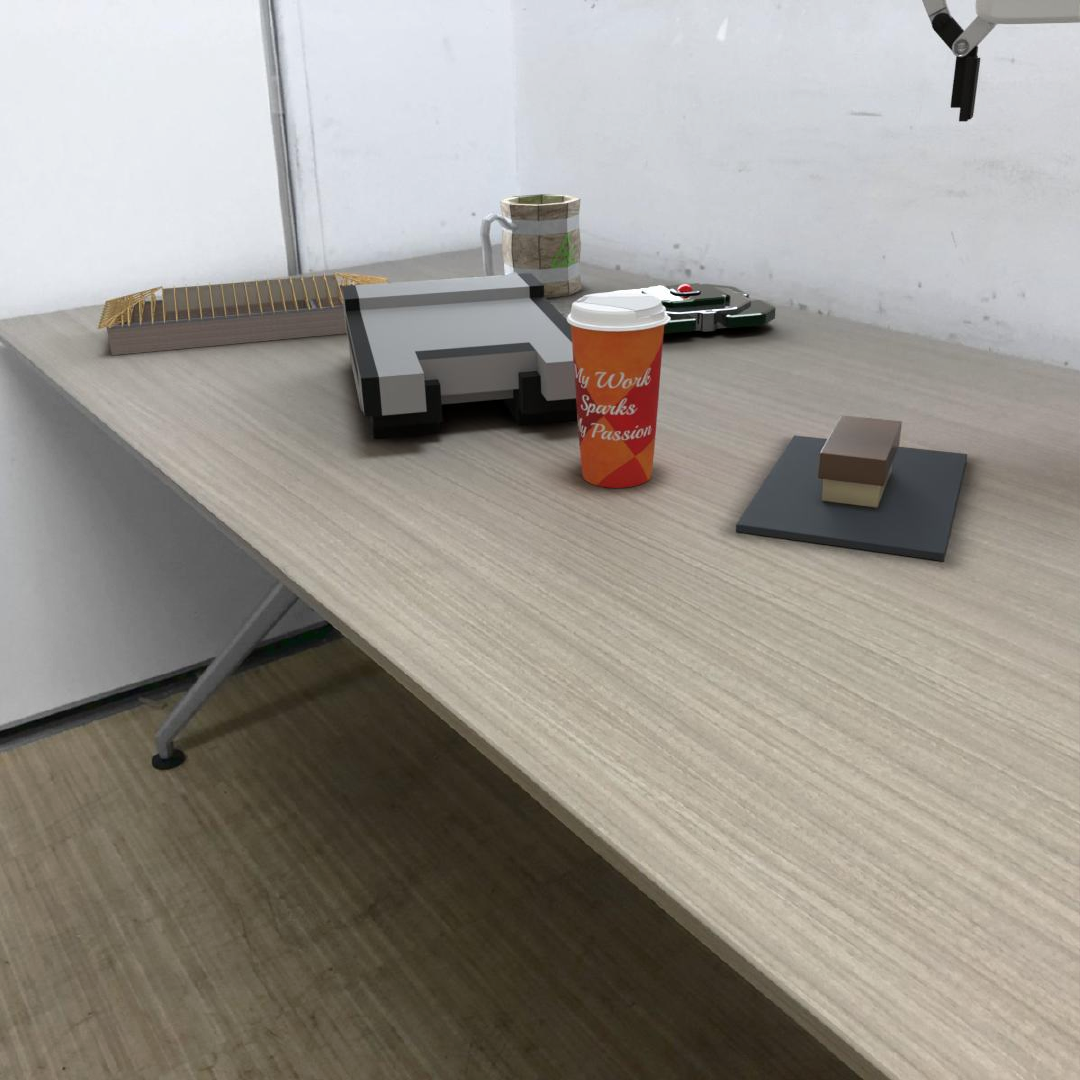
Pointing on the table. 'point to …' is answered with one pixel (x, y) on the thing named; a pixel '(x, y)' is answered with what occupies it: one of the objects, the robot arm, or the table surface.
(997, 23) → the robot arm
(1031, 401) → the table surface
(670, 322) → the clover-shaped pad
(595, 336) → the paper cup
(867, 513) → the mat
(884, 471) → the scrubber
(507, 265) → the mug
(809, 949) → the table surface
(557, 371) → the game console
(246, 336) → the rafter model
